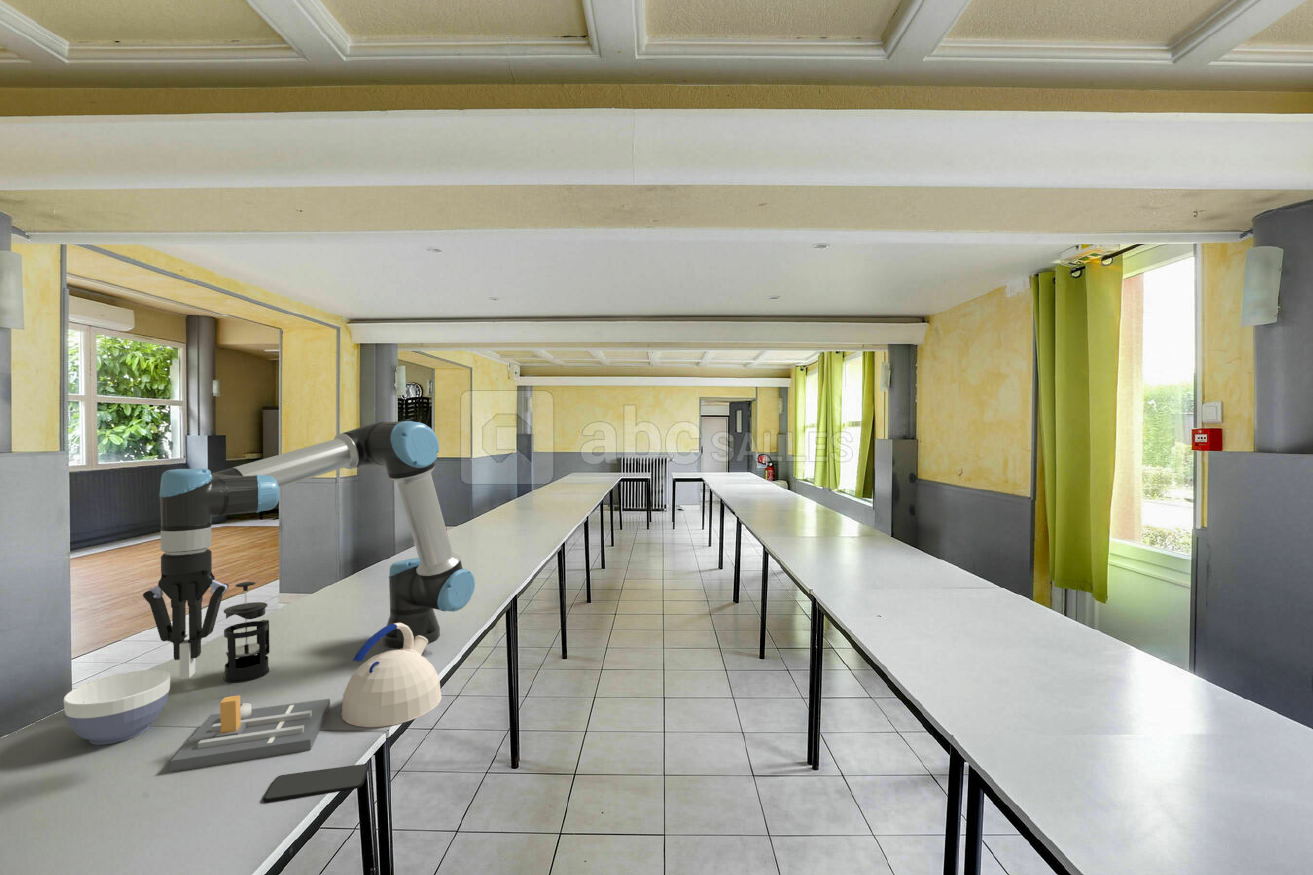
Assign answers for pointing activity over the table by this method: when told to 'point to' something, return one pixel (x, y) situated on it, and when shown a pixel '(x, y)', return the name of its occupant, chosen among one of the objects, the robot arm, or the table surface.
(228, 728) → the fader tab
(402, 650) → the kettle
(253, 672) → the french press
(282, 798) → the smartphone
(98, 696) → the bowl
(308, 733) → the console board
